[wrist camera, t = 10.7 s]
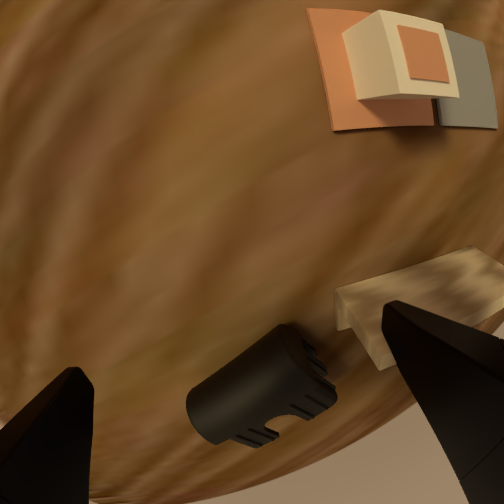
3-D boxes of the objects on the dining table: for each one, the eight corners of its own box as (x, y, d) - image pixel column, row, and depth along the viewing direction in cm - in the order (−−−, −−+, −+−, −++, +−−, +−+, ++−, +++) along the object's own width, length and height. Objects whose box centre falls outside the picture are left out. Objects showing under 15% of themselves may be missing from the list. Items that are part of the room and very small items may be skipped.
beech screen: (471, 245, 22) (526, 281, 15) (465, 279, 24) (514, 318, 17) (334, 288, 22) (381, 355, 15) (335, 327, 23) (374, 394, 16)
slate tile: (480, 43, 14) (483, 42, 14) (495, 128, 18) (498, 128, 18) (419, 23, 14) (421, 22, 14) (439, 125, 18) (442, 125, 17)
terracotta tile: (410, 21, 14) (412, 20, 13) (431, 125, 17) (434, 125, 17) (305, 10, 13) (307, 8, 13) (332, 130, 17) (334, 130, 17)
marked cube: (399, 36, 14) (443, 21, 9) (413, 99, 16) (461, 97, 12) (341, 31, 14) (379, 6, 9) (357, 99, 16) (401, 93, 11)
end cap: (270, 304, 22) (291, 366, 16) (321, 347, 24) (347, 403, 18) (186, 371, 24) (183, 433, 17) (241, 402, 26) (249, 458, 20)
